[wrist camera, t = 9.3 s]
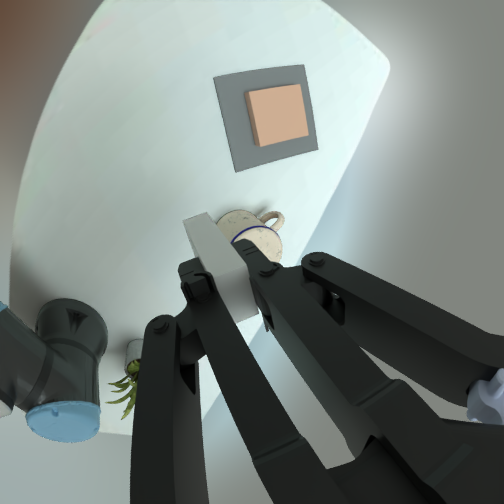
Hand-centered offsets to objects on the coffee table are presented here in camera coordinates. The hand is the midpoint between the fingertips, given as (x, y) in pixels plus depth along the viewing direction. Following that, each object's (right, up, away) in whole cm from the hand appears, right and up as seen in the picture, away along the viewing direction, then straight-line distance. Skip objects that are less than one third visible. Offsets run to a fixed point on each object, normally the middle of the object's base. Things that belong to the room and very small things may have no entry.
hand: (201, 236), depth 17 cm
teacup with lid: (+1, +3, +34) cm, 34 cm away
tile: (+3, +19, +24) cm, 31 cm away
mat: (+6, +21, +26) cm, 34 cm away
